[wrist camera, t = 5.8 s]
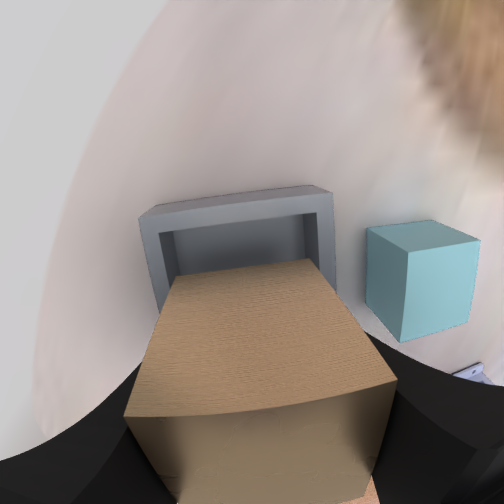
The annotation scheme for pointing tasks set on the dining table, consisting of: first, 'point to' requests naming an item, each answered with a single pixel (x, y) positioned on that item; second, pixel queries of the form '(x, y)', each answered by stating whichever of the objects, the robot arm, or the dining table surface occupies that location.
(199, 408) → the wooden block
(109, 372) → the dining table surface
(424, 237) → the pale teal cube
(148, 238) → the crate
